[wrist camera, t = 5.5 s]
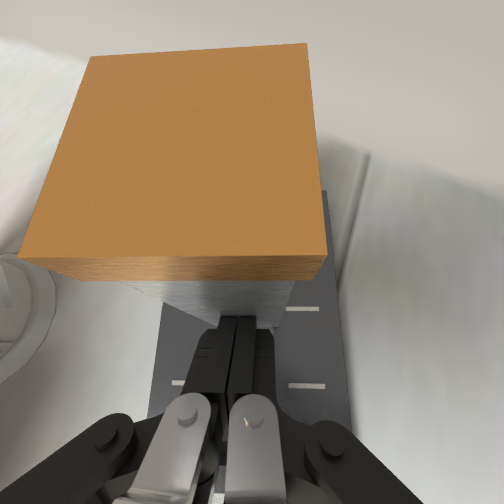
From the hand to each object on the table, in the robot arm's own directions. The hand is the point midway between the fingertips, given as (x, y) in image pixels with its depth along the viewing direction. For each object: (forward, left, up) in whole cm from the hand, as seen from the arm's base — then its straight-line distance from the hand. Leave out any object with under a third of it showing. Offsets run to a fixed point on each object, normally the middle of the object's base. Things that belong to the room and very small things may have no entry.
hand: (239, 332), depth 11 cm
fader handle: (-1, -2, -4) cm, 5 cm away
